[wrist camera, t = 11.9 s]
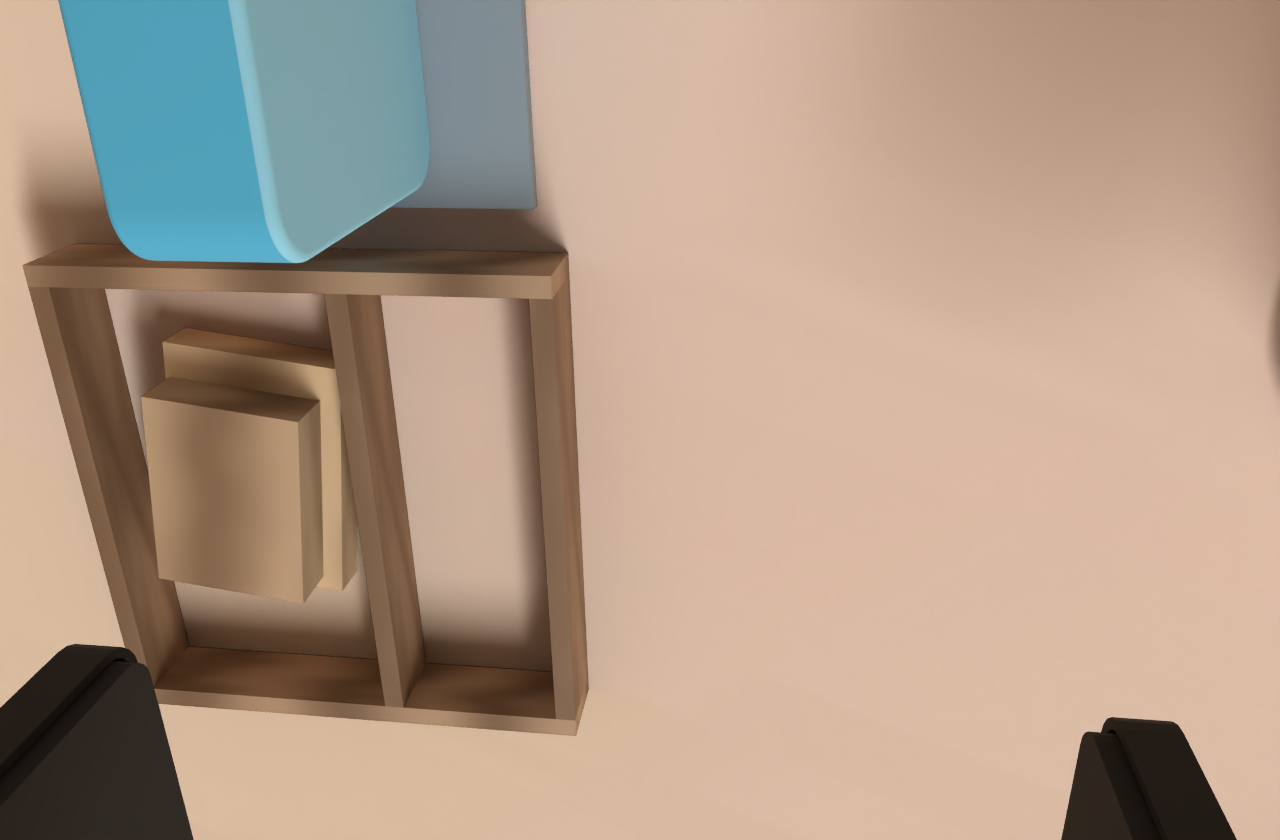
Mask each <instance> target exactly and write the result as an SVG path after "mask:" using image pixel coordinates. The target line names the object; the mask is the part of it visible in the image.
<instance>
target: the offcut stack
mask: <svg viewBox="0 0 1280 840" xmlns="http://www.w3.org/2000/svg"><path fill="white" fill-rule="evenodd" d="M162 345H163V356H164V367H165V379H166V380H164V381H163V382H162V383H160V384H159V385H157V386H156V387H154V388H153V389H151V390H150V391H149V392H147V393H146V394H144V395H143V396H141V402H142V412H143V422H144V432H145V442H146V452H147V462H148V472H149V482H150V493H151V503H152V513H153V523H154V533H155V543H156V553H157V563H158V573H159V578H160V579H166V580H172V581H178V582H183V583H189V584H195V585H200V586H206V587H212V588H218V589H223V590H229V591H235V592H240V593H246V594H252V595H257V596H263V597H269V598H275V599H280V600H286V601H292V602H297V603H304V602H305V600H306V599H307V598H308V596H309V595H310V594H311V592H312V591H313V590H314V588H315V587H320V588H326V589H332V590H338V591H343V590H344V588H345V587H346V585H347V584H348V583H349V581H350V580H351V578H352V577H353V575H354V574H355V572H356V571H357V512H356V506H355V499H354V492H353V485H352V478H351V472H350V465H349V458H348V451H347V445H346V438H345V431H344V424H343V418H342V411H341V404H340V397H339V390H338V384H337V377H336V370H335V363H334V357H333V351H329V350H323V349H317V348H310V347H304V346H298V345H291V344H285V343H279V342H272V341H266V340H260V339H253V338H247V337H241V336H234V335H228V334H222V333H215V332H209V331H203V330H196V329H190V328H184V329H182V330H180V331H179V332H177V333H176V334H174V335H173V336H171V337H169V338H168V339H166V340H165V341H163V342H162Z"/></svg>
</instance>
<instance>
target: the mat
mask: <svg viewBox="0 0 1280 840" xmlns="http://www.w3.org/2000/svg"><path fill="white" fill-rule="evenodd" d="M415 1H416V11H417V21H418V31H419V41H420V51H421V61H422V71H423V80H424V90H425V100H426V110H427V120H428V130H429V163H428V169H427V173H426V176H425V179H424V181H423V183H422V185H421V186H420V188H418V189H417V190H416V191H414V192H413V193H411V194H410V195H408V196H407V197H405V198H404V199H402V200H401V201H399V202H397V203H396V204H394V205H393V206H391V207H390V208H470V209H534V208H535V207H536V206H537V197H536V180H535V163H534V146H533V129H532V112H531V95H530V78H529V60H528V43H527V26H526V9H525V0H415Z"/></svg>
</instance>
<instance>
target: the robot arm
mask: <svg viewBox="0 0 1280 840" xmlns="http://www.w3.org/2000/svg"><path fill="white" fill-rule="evenodd" d="M0 840H193V836H192V832H191V828H190V824H189V820H188V817H187V813H186V809H185V805H184V801H183V797H182V793H181V790H180V786H179V782H178V778H177V774H176V770H175V766H174V763H173V759H172V755H171V751H170V747H169V743H168V739H167V736H166V732H165V728H164V724H163V720H162V716H161V712H160V709H159V705H158V701H157V697H156V693H155V689H154V685H153V682H152V678H151V674H150V672H149V670H148V668H147V667H146V666H145V665H144V664H141V663H138V661H137V659H136V656H135V655H134V654H133V653H132V652H131V651H130V650H129V649H126V648H123V647H110V646H96V645H82V644H73V645H69V646H66V647H65V648H64V649H62V650H61V651H59V652H58V653H57V654H56V655H55V656H54V657H53V658H52V659H51V660H50V661H49V662H48V663H47V664H45V665H44V666H43V667H42V668H41V669H40V670H39V671H38V672H37V673H36V674H35V675H34V676H33V677H32V678H31V679H30V680H29V681H28V682H27V683H26V684H25V685H24V686H23V687H22V688H21V689H19V690H18V691H17V692H16V693H15V694H14V695H13V696H12V697H11V698H10V699H9V700H8V701H7V702H6V703H5V704H4V705H3V706H2V707H1V708H0ZM1061 840H1237V839H1236V837H1235V835H1234V833H1233V831H1232V829H1231V827H1230V825H1229V823H1228V821H1227V819H1226V817H1225V815H1224V813H1223V811H1222V809H1221V807H1220V805H1219V803H1218V801H1217V799H1216V797H1215V795H1214V793H1213V791H1212V789H1211V787H1210V785H1209V783H1208V781H1207V779H1206V777H1205V775H1204V773H1203V771H1202V769H1201V767H1200V765H1199V763H1198V761H1197V759H1196V757H1195V755H1194V753H1193V751H1192V749H1191V747H1190V745H1189V743H1188V741H1187V739H1186V737H1185V735H1184V733H1183V732H1182V730H1181V729H1180V727H1179V726H1178V725H1177V724H1176V723H1174V722H1171V721H1156V720H1142V719H1128V718H1114V717H1111V718H1108V719H1107V720H1106V721H1105V723H1104V725H1103V728H1102V731H1101V733H1099V732H1086V733H1085V734H1084V735H1083V737H1082V740H1081V744H1080V749H1079V754H1078V759H1077V764H1076V769H1075V774H1074V779H1073V784H1072V789H1071V794H1070V799H1069V804H1068V809H1067V814H1066V819H1065V824H1064V829H1063V834H1062V839H1061Z"/></svg>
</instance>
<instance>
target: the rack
mask: <svg viewBox="0 0 1280 840" xmlns="http://www.w3.org/2000/svg"><path fill="white" fill-rule="evenodd" d="M23 269H24V273H25V276H26V280H27V284H28V288H29V291H30V295H31V299H32V302H33V306H34V310H35V314H36V317H37V321H38V325H39V329H40V332H41V336H42V340H43V343H44V347H45V351H46V355H47V358H48V362H49V366H50V370H51V373H52V377H53V381H54V384H55V388H56V392H57V396H58V399H59V403H60V407H61V411H62V414H63V418H64V422H65V425H66V429H67V433H68V437H69V440H70V444H71V448H72V452H73V455H74V459H75V463H76V466H77V470H78V474H79V478H80V481H81V485H82V489H83V493H84V496H85V500H86V504H87V507H88V511H89V515H90V519H91V522H92V526H93V530H94V534H95V537H96V541H97V545H98V548H99V552H100V556H101V560H102V563H103V567H104V571H105V575H106V578H107V582H108V586H109V589H110V593H111V597H112V601H113V604H114V608H115V612H116V616H117V619H118V623H119V627H120V630H121V634H122V638H123V642H124V645H125V648H126V649H129V650H130V651H131V652H132V653H133V654H134V655H135V656H136V659H137V661H138V663H141V664H144V665H145V666H146V667H147V668H148V670H149V672H150V674H151V678H152V682H153V685H154V689H155V693H156V697H157V701H158V704H170V705H182V706H195V707H208V708H221V709H234V710H247V711H260V712H273V713H285V714H298V715H311V716H324V717H337V718H350V719H363V720H376V721H389V722H401V723H414V724H427V725H440V726H453V727H466V728H479V729H492V730H505V731H517V732H530V733H543V734H556V735H569V736H576V734H577V730H578V726H579V723H580V719H581V715H582V712H583V708H584V704H585V701H586V697H587V693H588V690H589V687H588V666H587V644H586V623H585V602H584V580H583V559H582V538H581V517H580V495H579V474H578V453H577V431H576V410H575V389H574V367H573V346H572V325H571V303H570V282H569V261H568V253H558V252H502V251H446V250H390V249H334V248H326V249H325V250H323V251H321V252H320V253H318V254H317V255H315V256H314V257H312V258H311V259H309V260H307V261H305V262H301V263H261V262H203V261H153V260H146V259H143V258H141V257H139V256H137V255H135V254H134V253H132V252H131V251H130V250H129V249H128V248H127V247H126V246H125V245H111V244H73V245H70V246H68V247H66V248H63V249H61V250H58V251H56V252H53V253H51V254H49V255H46V256H44V257H41V258H39V259H36V260H34V261H32V262H29V263H27V264H24V265H23ZM104 289H145V290H187V291H229V292H272V293H314V294H324V296H325V302H326V309H327V316H328V323H329V330H330V336H331V343H332V350H333V357H334V363H335V370H336V377H337V384H338V390H339V397H340V404H341V411H342V418H343V424H344V431H345V438H346V445H347V451H348V458H349V465H350V472H351V478H352V485H353V492H354V499H355V506H356V512H357V519H358V526H359V533H360V539H361V546H362V553H363V560H364V566H365V573H366V580H367V587H368V594H369V600H370V607H371V614H372V621H373V627H374V634H375V641H376V648H377V654H378V660H373V659H358V658H344V657H330V656H316V655H301V654H287V653H273V652H258V651H244V650H230V649H215V648H201V647H189V644H188V639H187V635H186V631H185V627H184V623H183V618H182V614H181V610H180V606H179V601H178V597H177V593H176V589H175V585H174V581H172V580H166V579H160V578H159V573H158V563H157V553H156V543H155V533H154V523H153V513H152V503H151V493H150V482H149V475H148V471H147V467H146V462H145V458H144V454H143V450H142V446H141V441H140V437H139V433H138V429H137V425H136V420H135V416H134V412H133V408H132V404H131V399H130V395H129V391H128V387H127V382H126V378H125V374H124V370H123V366H122V361H121V357H120V353H119V349H118V345H117V340H116V336H115V332H114V328H113V324H112V319H111V315H110V311H109V307H108V302H107V298H106V294H105V290H104ZM380 295H398V296H441V297H483V298H525V299H529V307H530V322H531V338H532V354H533V369H534V385H535V400H536V416H537V432H538V447H539V463H540V479H541V494H542V510H543V526H544V541H545V557H546V573H547V588H548V604H549V620H550V635H551V651H552V667H553V672H544V671H530V670H516V669H502V668H487V667H473V666H459V665H444V664H430V663H426V658H425V650H424V642H423V634H422V626H421V618H420V610H419V602H418V594H417V586H416V578H415V570H414V562H413V554H412V546H411V537H410V529H409V521H408V513H407V505H406V497H405V489H404V481H403V473H402V465H401V457H400V449H399V441H398V433H397V425H396V417H395V409H394V401H393V393H392V385H391V377H390V369H389V361H388V353H387V345H386V337H385V329H384V321H383V313H382V305H381V297H380Z"/></svg>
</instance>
